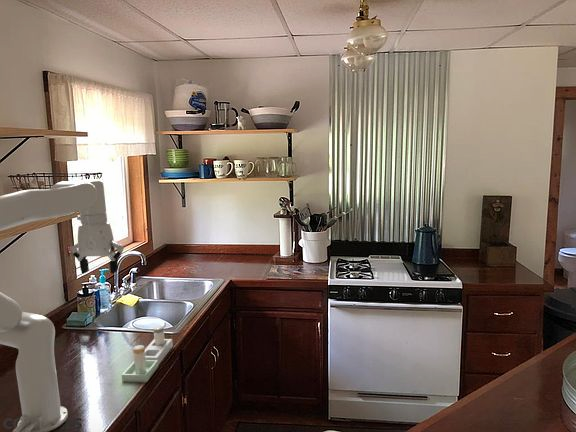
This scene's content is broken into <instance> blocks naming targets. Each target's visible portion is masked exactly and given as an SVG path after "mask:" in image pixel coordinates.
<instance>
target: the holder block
mask: <svg viewBox="0 0 576 432" xmlns="http://www.w3.org/2000/svg"><path fill="white" fill-rule="evenodd" d="M173 345H174V343H173V338H165V345H164V346H155V340H154V339H152V341H151V342H150V343H149V344H148V345H147V346H146V347H145V359H146V360H158V366H159V365H160V363H162V361H163V360H164V359H165V357H166V356H167V354H169V352H170V351H171V350H172V348H174V347H173Z"/></svg>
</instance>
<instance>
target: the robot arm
mask: <svg viewBox="0 0 576 432" xmlns="http://www.w3.org/2000/svg"><path fill="white" fill-rule="evenodd" d="M105 195H106V194H105V187H104V182H103V181H102V180H101V179H94V178H93V179H84V180H80V181H60V182H59V181H58V182H56V183H55V184H53V185H52V186H51V187H50V188H48V189H47V188H46V189H26V190H25V189H24V190H19V191H15V192H11V193H8V194H4V195H3V194H2V195H0V232H1V231H5V230H8V229H11V228H15V227H18V226H21V225H25V224H27V223H31V222H36V221H43V220H47V219H51V218H55V217H60V216H65V215H70V214H74V213H78V212H79V215H77V216H76V219H77V221H80V223H81V224H78V229H77V243H76V244H74V245H72V246H71V247H69V249H70V251H71V253H72V254H73V256H74V257H75V258H76V259H77V261H78V262H79V267H80V271H81V274H82V275H83V274H86V273H87V272H89V270H90V268H89V259H88V258H87V257H108V258H109V259H110V261H109V266H110V267H109V270H110V274H115V273H117V272H118V269H119V264H118V260H119V259H120V257H121V255H122V254H123V252H124V250H125V246H124V245H123V244H120V243H119V242H116V241H115V240H114V236H113V235H114V234H113V230H112V227H111V223H110V222H108V216H107V215H108V214H107V207H106V197H105ZM115 248H116V249H117V251H116V252H115ZM55 328H56V327H55V326H54V323H53V322H52V320H50V318H48V317H47V316H44V315H41V314H38V313H32V312H27V311H26V312H25V311H23V309H22V307H21V305H20V304H19V303H18V302H17V301H16V300H14V299H13V298H11V297H10V296H8V295H6V294H4V293H3V292H1V291H0V345H3V346H6V347H7V346H8V347H10V348H11V347H12V348H16V349H17V350H18V355H17V356H16V357H17V358H16V360H15V373H16V381H17V386H18V394H19V401H20V408H21V409H20V410H21V415H20V419H19V421H18V422H17V424H16V425H17V426H16V427H15V428H14V429H13V430H12V432H51V431H53V430H55V429H56V428H58V427H60V426H61V425H63V423H64V422H66V421H67V419H68V418H69V417H68V416H69V415H68V412H69V411H68V409H67V408H66V407H65V406H61V405H62V404H61V397H60V391H59V384H58V383H59V382H58V376H57V369H56V368H57V367H56V359H55V336H56V329H55Z"/></svg>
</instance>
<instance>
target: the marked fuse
mask: <svg viewBox="0 0 576 432" xmlns="http://www.w3.org/2000/svg"><path fill="white" fill-rule="evenodd" d="M145 349H146V347H145V345H142V344H138V345H135V346H133V347H132V354H133V362H134V364H135V374H145V373H146V372H147V370H146V359H145Z"/></svg>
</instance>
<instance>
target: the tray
mask: <svg viewBox="0 0 576 432" xmlns="http://www.w3.org/2000/svg"><path fill="white" fill-rule="evenodd" d="M158 368H159V365H158V360H146V370H147V372H146V373H145V374H135V364H134V361H132V363H131V364H130V365H128V367H127V368H126V369H125V370H124V371H123V372H122V374H121V380H122V383H148V382H149V380H150V378H151V377H152V376H153V375H154V373H156V371H157V370H158Z"/></svg>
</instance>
